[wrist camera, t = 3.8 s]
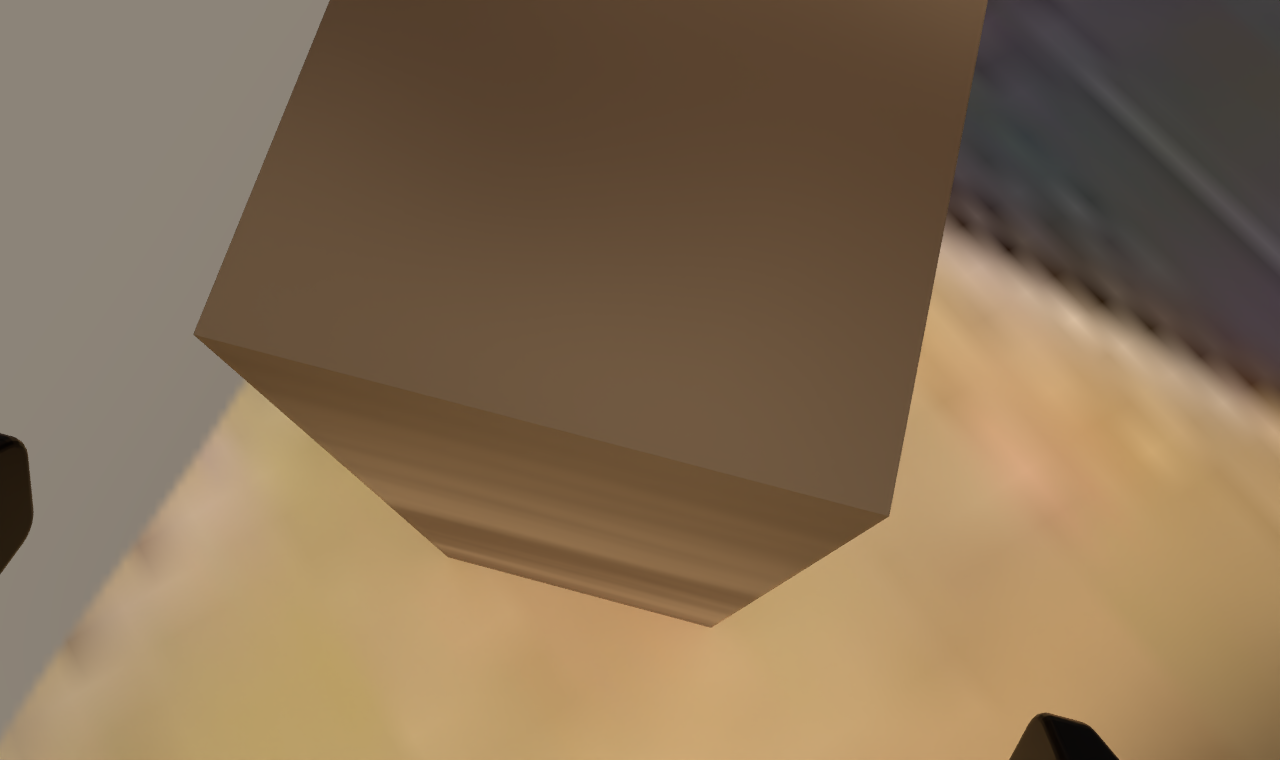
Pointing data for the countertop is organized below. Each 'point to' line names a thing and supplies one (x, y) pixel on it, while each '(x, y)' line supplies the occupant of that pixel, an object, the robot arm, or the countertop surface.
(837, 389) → the walnut brick
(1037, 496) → the countertop surface
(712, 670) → the countertop surface
